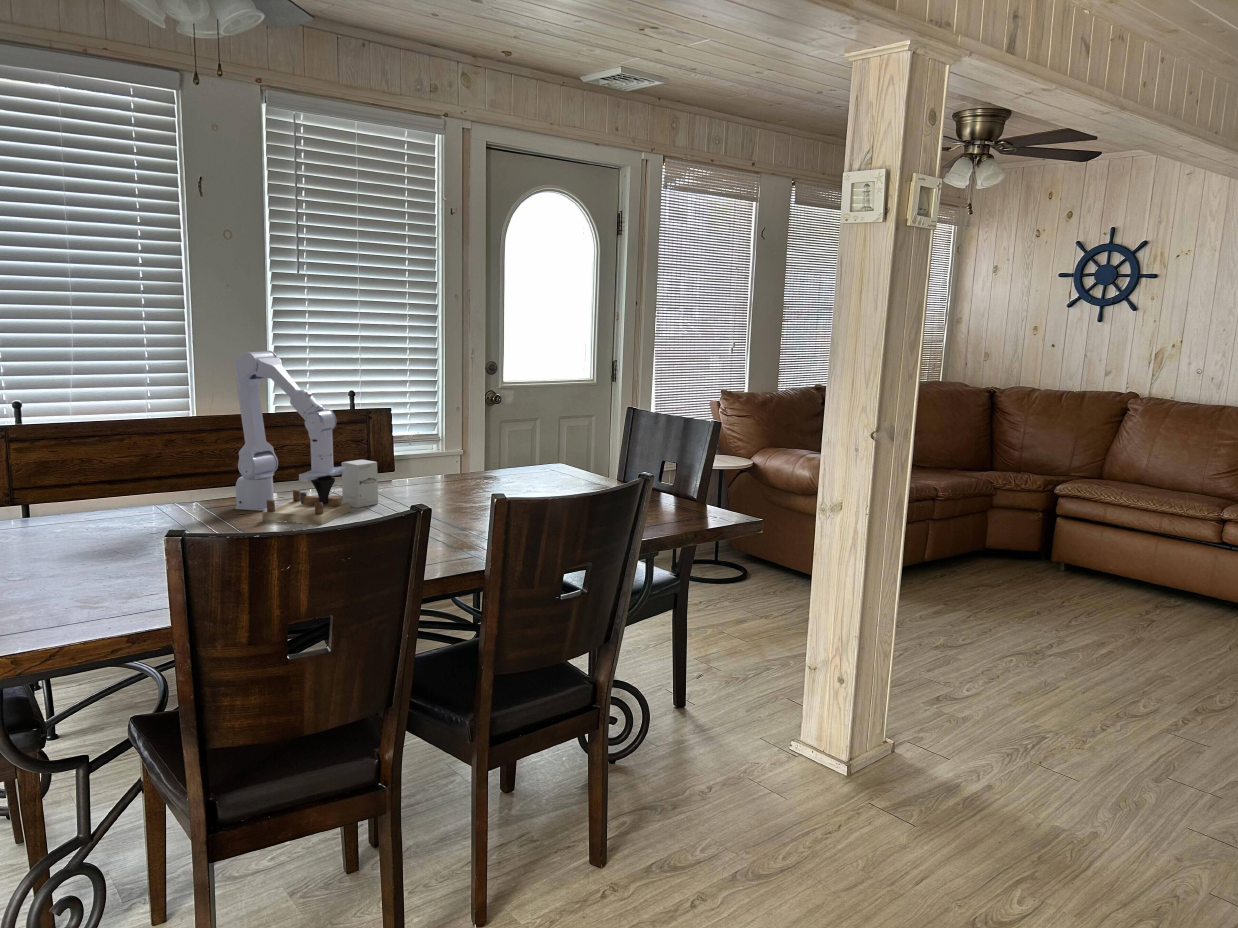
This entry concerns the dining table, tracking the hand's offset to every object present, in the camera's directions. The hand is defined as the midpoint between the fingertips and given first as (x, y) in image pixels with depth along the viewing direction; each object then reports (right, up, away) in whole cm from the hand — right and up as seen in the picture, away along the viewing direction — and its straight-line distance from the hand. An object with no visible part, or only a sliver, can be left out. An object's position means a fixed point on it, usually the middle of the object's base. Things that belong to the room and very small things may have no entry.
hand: (323, 503), depth 248 cm
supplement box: (+6, -1, +15) cm, 16 cm away
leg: (-2, 0, +2) cm, 3 cm away
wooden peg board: (-5, -3, 0) cm, 6 cm away
